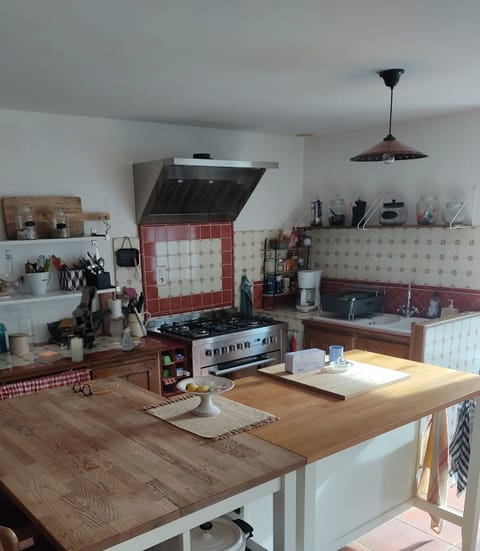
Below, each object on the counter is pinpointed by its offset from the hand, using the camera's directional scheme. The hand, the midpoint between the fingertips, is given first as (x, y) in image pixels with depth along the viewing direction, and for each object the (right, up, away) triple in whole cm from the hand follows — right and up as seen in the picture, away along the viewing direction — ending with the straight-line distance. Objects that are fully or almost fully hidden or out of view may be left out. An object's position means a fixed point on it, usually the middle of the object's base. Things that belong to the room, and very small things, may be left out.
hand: (76, 350), depth 280 cm
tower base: (-17, -6, +4) cm, 19 cm away
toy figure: (+24, -4, +22) cm, 33 cm away
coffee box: (+15, -1, +42) cm, 44 cm away
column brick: (0, -7, +2) cm, 7 cm away
